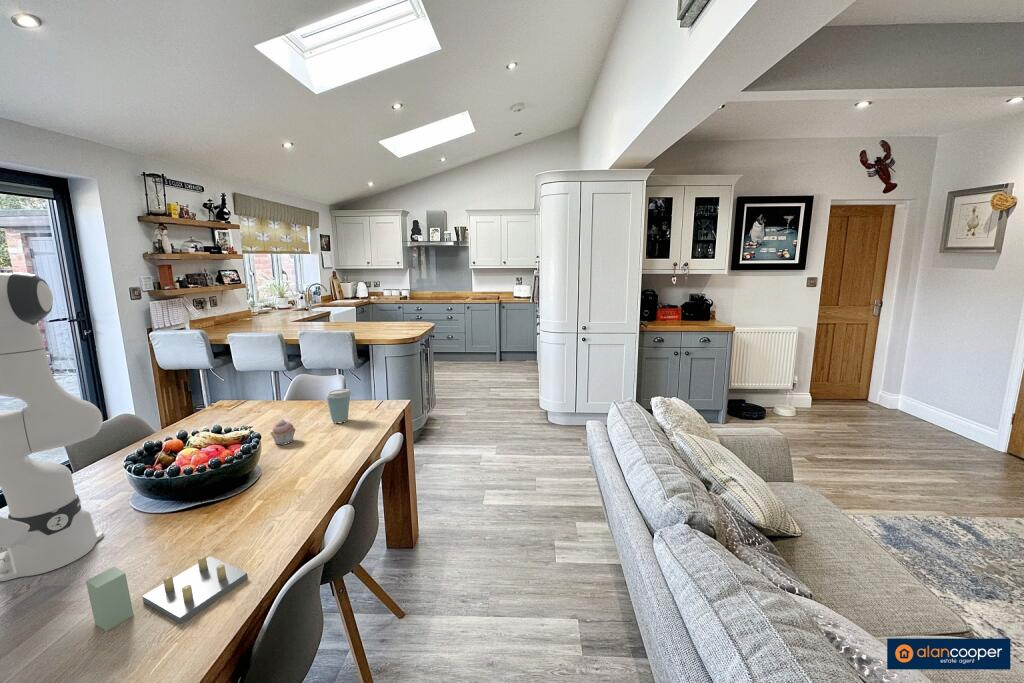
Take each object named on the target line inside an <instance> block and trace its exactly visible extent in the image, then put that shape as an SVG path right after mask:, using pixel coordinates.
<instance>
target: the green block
mask: <svg viewBox="0 0 1024 683" xmlns="http://www.w3.org/2000/svg"><path fill="white" fill-rule="evenodd" d="M85 584H86V588H87V592H88V593H87V594H88V597H89V601H90V602H89V603H90V606H91V607H90V608H91V612H92V616H93V620H94V625H95V626H97V627H99V629H100V628H101V629H102V630H103V631H105V632H108V631H111V629H113V628H114V627H117V626H118V625H119V624H121V623H123V622H125V621H127V620H128V619H129V618H131V617H133V616H135V615H134V610H133V605H132V600H131V594H130V589H129V586H128V585H129V584H128V580H127V574H126V572H124V571H123V570H121V569H119V568H117V567H116V566H112V567H110V568H109V569H106V570H104V571H103V572H101V573H99V574H97V575H95V576H93V577H90V578H89V579H87V580H86V581H85Z"/></svg>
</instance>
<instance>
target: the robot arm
mask: <svg viewBox="0 0 1024 683" xmlns="http://www.w3.org/2000/svg"><path fill="white" fill-rule="evenodd" d="M53 303H54V297H53V292H52V290H51V289H50V286H49V284H48V283H47V282H46V280H44V279H43V278H42V277H40V276H39V275H37V274H33V273H25V272H16V271H15V272H13V273H9V272H8V273H7V272H0V396H1V397H7V398H13V399H19V400H21V401H23V402H24V403H25V404H26V405H27V406H26V407H23V408H19V409H13V410H7V411H0V489H1V491H2V494H3V496H4V499H5V501H6V504H7V508H8V511H9V514H8V516H7V517H2V516H0V582H5V581H6V582H7V581H11V580H13V579H17V578H22V577H31V576H35V575H36V576H37V575H41V574H45V573H49V572H51V571H54V570H57V569H60V568H62V567H65V566H66V565H69V564H72V563H73V562H76V561H77V560H78V559H81V558H82V557H84V556H85V555H87V554H88V553H89V552H90V551H92V549H94V547H95V546H96V544H97V542H99V540H102V538H104V537H105V534H104V531H101V530H96V529H95V525H94V521H93V518H92V514H91V512H90V511H88V510H86V509H85V510H84V509H82V504H81V503H82V502H81V499H80V498H79V497H80V496H79V495H78V494H77V493H76V490H75V485H74V479H73V476H72V475H73V474H72V471H71V470H70V468H69V467H67V466H66V465H64V464H61V463H57V462H50V461H39V460H36V459H34V458H31V457H30V456H29V455H32V454H36V453H40V452H44V451H49V450H54V449H58V448H62V447H67V446H72V445H74V444H77V443H81V442H84V441H85V440H88V439H91V438H94V437H95V436H96V435H97V434H98V432H100V430H101V428H102V425H103V420H104V419H103V414H102V411H101V410H100V409H99V408H98V406H96V405H95V404H94V403H92V402H90V401H88V400H86V399H81V398H79V397H77V396H74V395H72V394H71V393H69V392H68V391H66V390H65V389H64V388H63V387H61V385H59V383H58V382H57V381H56V379H55V377H54V375H53V372H52V370H51V366H50V364H49V361H48V360H49V359H48V356H47V352H46V348H45V343H44V339H43V336H42V332H41V330H40V327H39V326H38V323H39V321H40V320H42V319H45V317H47V316H48V315H49V314H50V312H52V309H53Z"/></svg>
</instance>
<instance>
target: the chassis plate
mask: <svg viewBox="0 0 1024 683" xmlns="http://www.w3.org/2000/svg"><path fill="white" fill-rule="evenodd" d="M248 578H249V577H248V572H246V571H245V570H244V571H243V570H242V569H239V568H237V567H236V566H232V565H231V564H229V563H226V562H225V561H222V560H220V559H217V558H216V557H213V556H208V557H207V556H206V555H201V556H199V557H198V558H197V563H196V564H194V565H193V566H191V567H189V568H188V569H186V570H184V571H182V572H180V573H179V574H177V575H176V576H174V577H173V575H171V574H170V575H167V576H165V577H163V579H162V582H163V583H162V584H160V585H159V586H157V587H155V588H153V589H152V590H150V591H148V592H147V593H145V594H143V595H142V596H141V598H142V601H143V603H144V604H146V605H148V606H149V607H151V608H153V609H155V610H157V611H158V612H159V613H162V614H163V615H165V616H167V617H168V618H170V619H172V620H174V621H175V622H176V623H178V624H180V625H182V624H184V623H185V622H186V621H188V620H189V619H191V618H192V617H193V616H195V615H197V614H198V613H199V612H201V611H203V610H204V609H205V608H207V607H208V606H210V605H211V604H213V603H214V602H216V601H217V600H219V599H220V598H221V597H223V596H225V595H226V594H227V593H229V592H230V591H231V590H233V589H235V588H237V587H238V586H239V585H240V584H242V583H244V582H245V581H246V580H248Z"/></svg>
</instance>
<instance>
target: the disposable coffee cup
mask: <svg viewBox="0 0 1024 683" xmlns="http://www.w3.org/2000/svg"><path fill="white" fill-rule="evenodd" d="M351 395H352V392H351V391H350V389H348V388H340V389H339V388H337V389H334V390H333V389H332V390H330V391H328V392H327V393H326V395H325V397H326V401H327V404H328V409H329V414H330V419H331V422H332V423H333V422H336V423H338V422H344V421H346V420H347V421H348V419H349V410H350V408H349V407H350V399H351ZM347 421H346V422H347ZM336 423H335V424H336ZM344 423H345V422H344Z"/></svg>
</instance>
